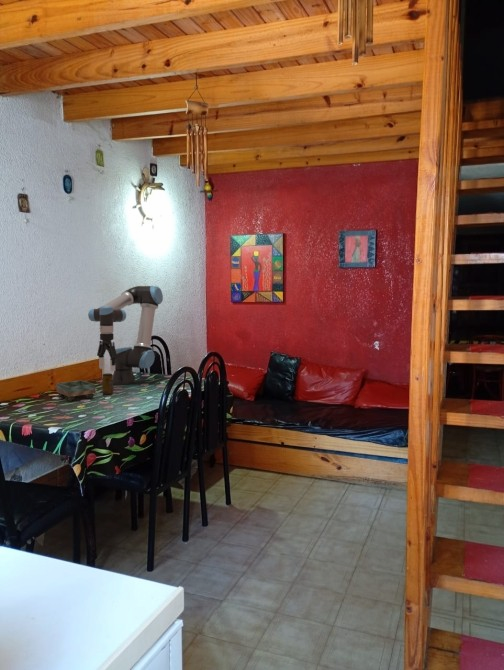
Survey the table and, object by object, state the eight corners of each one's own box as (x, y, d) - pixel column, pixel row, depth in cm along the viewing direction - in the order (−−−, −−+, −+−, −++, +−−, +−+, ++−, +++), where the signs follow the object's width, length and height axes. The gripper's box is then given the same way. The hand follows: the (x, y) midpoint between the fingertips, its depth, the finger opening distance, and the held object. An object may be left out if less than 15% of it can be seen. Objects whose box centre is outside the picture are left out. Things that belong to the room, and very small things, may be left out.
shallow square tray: (82, 393, 309) (81, 380, 309) (95, 398, 297) (95, 384, 296) (56, 397, 299) (56, 383, 299) (69, 402, 287) (68, 387, 286)
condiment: (110, 392, 313) (110, 372, 312) (117, 394, 307) (116, 374, 306) (99, 394, 309) (98, 373, 308) (105, 396, 302) (104, 375, 301)
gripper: (90, 332, 311) (91, 368, 313) (110, 334, 293) (111, 372, 294) (102, 331, 316) (103, 366, 318) (123, 334, 298) (123, 371, 299)
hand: (107, 369), depth 306 cm, fingers open, 13 cm apart
